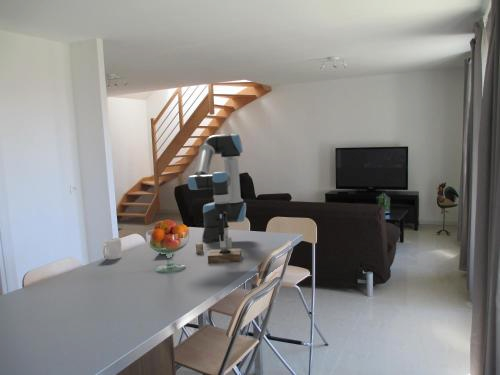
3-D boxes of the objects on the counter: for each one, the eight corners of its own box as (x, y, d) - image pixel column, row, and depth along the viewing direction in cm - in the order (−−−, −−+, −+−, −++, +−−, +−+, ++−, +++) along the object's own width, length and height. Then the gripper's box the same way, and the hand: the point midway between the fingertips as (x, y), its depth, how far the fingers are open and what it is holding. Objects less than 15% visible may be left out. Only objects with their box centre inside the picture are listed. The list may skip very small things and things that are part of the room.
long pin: (221, 258, 212) (220, 235, 210) (229, 258, 211) (228, 235, 210) (220, 260, 208) (219, 237, 206) (228, 260, 207) (227, 237, 206)
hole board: (211, 257, 216) (211, 249, 215) (241, 255, 215) (241, 248, 214) (208, 263, 204) (207, 255, 203) (240, 262, 203) (239, 254, 203)
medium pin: (225, 250, 227) (224, 236, 226) (232, 250, 227) (231, 236, 226) (224, 252, 223) (223, 238, 223) (231, 252, 223) (231, 237, 222)
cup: (125, 256, 229) (123, 238, 228) (110, 262, 218) (108, 243, 217) (114, 255, 232) (112, 237, 231) (98, 261, 221) (96, 242, 220)
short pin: (196, 252, 228) (196, 243, 228) (204, 251, 228) (203, 242, 228) (195, 254, 224) (194, 245, 224) (202, 253, 224) (202, 244, 224)
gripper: (217, 199, 219) (220, 237, 221) (210, 207, 194) (213, 250, 197) (231, 198, 218) (233, 237, 221) (226, 206, 194) (229, 249, 196)
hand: (224, 243), depth 209 cm, fingers open, 13 cm apart
